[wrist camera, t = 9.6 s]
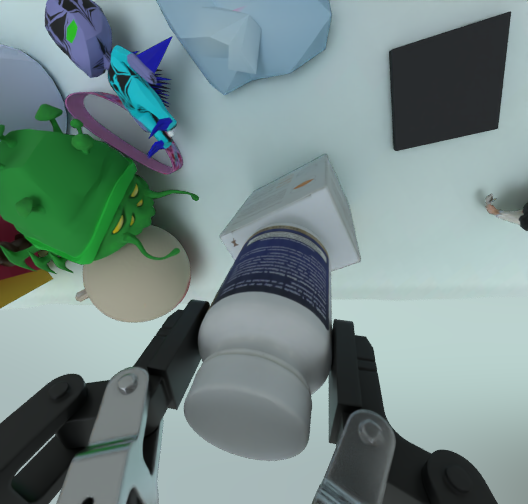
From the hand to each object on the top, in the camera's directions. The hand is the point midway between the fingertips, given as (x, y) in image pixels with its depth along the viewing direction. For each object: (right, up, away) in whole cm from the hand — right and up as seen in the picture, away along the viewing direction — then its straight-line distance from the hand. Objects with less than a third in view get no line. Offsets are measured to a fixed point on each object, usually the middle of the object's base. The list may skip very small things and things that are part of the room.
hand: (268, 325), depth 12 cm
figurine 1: (-7, +12, +10) cm, 17 cm away
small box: (+3, +9, +15) cm, 18 cm away
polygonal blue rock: (-1, +20, +9) cm, 22 cm away
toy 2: (-15, +3, +12) cm, 19 cm away
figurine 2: (-14, +6, +14) cm, 20 cm away
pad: (+13, +15, +9) cm, 22 cm away
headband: (-12, +16, +16) cm, 25 cm away
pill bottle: (+1, +3, +5) cm, 6 cm away
